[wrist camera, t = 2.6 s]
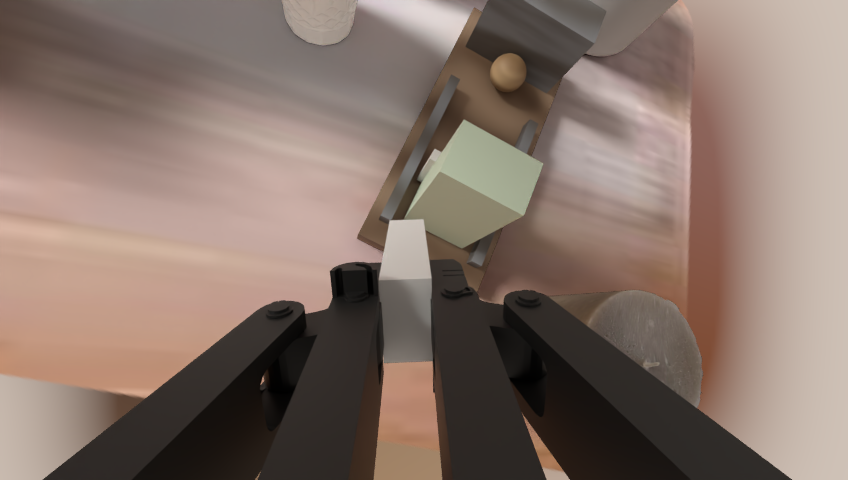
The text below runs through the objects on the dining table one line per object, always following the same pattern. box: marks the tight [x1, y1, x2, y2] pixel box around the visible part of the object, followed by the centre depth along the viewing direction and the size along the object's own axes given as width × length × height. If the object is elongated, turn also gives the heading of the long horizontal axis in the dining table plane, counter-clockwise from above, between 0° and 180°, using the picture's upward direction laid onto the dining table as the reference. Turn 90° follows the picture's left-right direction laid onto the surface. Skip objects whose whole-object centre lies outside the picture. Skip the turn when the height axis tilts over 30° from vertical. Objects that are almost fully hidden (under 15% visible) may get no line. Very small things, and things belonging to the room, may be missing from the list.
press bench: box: [357, 0, 607, 292], centre depth 36 cm, size 28×12×10 cm, turn 156°
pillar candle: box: [548, 290, 703, 408], centre depth 31 cm, size 10×10×15 cm
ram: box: [404, 120, 544, 248], centre depth 31 cm, size 5×7×12 cm
